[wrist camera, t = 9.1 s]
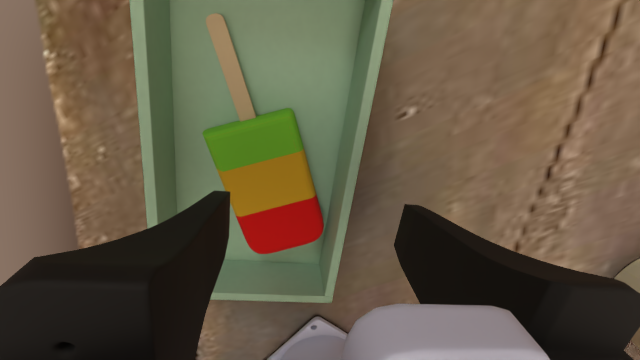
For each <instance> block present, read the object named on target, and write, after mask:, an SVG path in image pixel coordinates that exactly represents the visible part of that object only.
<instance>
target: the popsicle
mask: <svg viewBox="0 0 640 360" xmlns="http://www.w3.org/2000/svg"><path fill="white" fill-rule="evenodd" d="M206 25H207V28H208V31H209V33H210V36H211V39H212V42H213V45H214V48H215V51H216V54H217V56H218V59H219V62H220V65H221V68H222V71H223V74H224V76H225V79H226V82H227V85H228V88H229V91H230V94H231V97H232V99H233V102H234V105H235V108H236V111H237V114H238V117H239V119H240V120H239V121H235V122H231V123H228V124H224V125H220V126H216V127H212V128H208V129H206V130H204V131H203V133H202V134H203V137H204V139H205V142H206V144H207V147H208V149H209V152H210V154H211V156H212V159H213V161H214V164H215V166H216V169H217V171H218V174H219V176H220V179H221V181H222V183H223V186H224V188H225V191H229V192H230V203H231V206H232V208H233V210H234V213H235V215H236V218H237V220H238V223H239V225H240V228H241V230H242V232H243V235H244V237H245V240H246V242H247V244H248V245H249V247H250V248H251V249H252V250H253V251H254V252H256V253H258V254H270V253H275V252H279V251H282V250H286V249H290V248H294V247H298V246H301V245H305V244H308V243H311V242H314V241H315V240H317V239H318V238H319V237H320V236H321V234H322V233H323V229H324V223H323V217H322V213H321V209H320V205H319V202H318V198H317V194H316V190H315V187H314V183H313V179H312V176H311V172H310V168H309V165H308V161H307V157H306V154H305V150H304V146H303V143H302V139H301V135H300V132H299V128H298V124H297V121H296V117H295V113H294V111H293V110H292V109H291V108H285V109H281V110H277V111H273V112H270V113H266V114H262V115H258V116H256V114H255V111H254V108H253V105H252V102H251V98H250V95H249V92H248V89H247V86H246V83H245V80H244V77H243V74H242V71H241V68H240V65H239V62H238V58H237V55H236V52H235V49H234V46H233V43H232V40H231V37H230V34H229V31H228V28H227V25H226V21H225V19H224V17H223V16H222V15H220V14H217V13H215V14H211V15H209V16H208V17H207V18H206Z"/></svg>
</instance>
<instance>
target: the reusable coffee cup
mask: <svg viewBox="0 0 640 360" xmlns="http://www.w3.org/2000/svg"><path fill="white" fill-rule="evenodd" d="M614 279H616V280H619V281H622V282H624V283H626V284H627V285H629V286H630V287H631V288H633V289H634V290H636V291H637V292H639V293H640V258H639V259H638V260H636V261H634V262H632V263H631V264H630V265H628V266H627V267H625V268H624V269H623V270H622V271H621V272H620V273H619V274H618V275H616V277H615V278H614ZM631 341H632V342H633V343H634V344H635V345H636V346H637V347H638V348H639V349H640V328H639V329H638V330H637V332H636V333H635V335H634V336H633V337H632V339H631Z"/></svg>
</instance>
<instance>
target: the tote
mask: <svg viewBox="0 0 640 360" xmlns="http://www.w3.org/2000/svg"><path fill="white" fill-rule="evenodd" d="M392 5H393V0H130V13H131V25H132V38H133V51H134V64H135V76H136V89H137V102H138V115H139V127H140V140H141V153H142V166H143V178H144V191H145V204H146V216H147V229H148V228H150V227H153V226H155V225H157V224H159V223H162V222H164V221H166V220H168V219H169V218H171V217H173V216H175V215H176V214H178V213H180V212H182V211H183V210H185V209H187V208H188V207H190V206H192V205H193V204H195V203H196V202H198V201H199V200H201V199H202V198H204V197H205V196H206V195H208V194H209V193H211V192H212V191H214V190H215V191H225V188H224V186H223V183H222V181H221V179H220V176H219V174H218V171H217V169H216V166H215V164H214V161H213V159H212V156H211V154H210V152H209V149H208V147H207V144H206V142H205V139H204V137H203V134H202V133H203V131H204V130H206V129H208V128H212V127H216V126H220V125H224V124H228V123H231V122H235V121H239V120H240V119H239V117H238V114H237V111H236V108H235V105H234V102H233V99H232V97H231V94H230V91H229V88H228V85H227V82H226V79H225V76H224V74H223V71H222V68H221V65H220V62H219V59H218V56H217V54H216V51H215V48H214V45H213V42H212V39H211V36H210V33H209V31H208V28H207V25H206V18H207V17H208V16H209V15H211V14H215V13H217V14H220V15H222V16H223V17H224V19H225V21H226V25H227V28H228V31H229V34H230V37H231V40H232V43H233V46H234V49H235V52H236V55H237V58H238V62H239V65H240V68H241V71H242V74H243V77H244V80H245V83H246V86H247V89H248V92H249V95H250V98H251V102H252V105H253V108H254V111H255V114H256V116H258V115H262V114H266V113H270V112H273V111H277V110H281V109H285V108H291V109H292V110H293V111H294V113H295V117H296V121H297V124H298V128H299V132H300V135H301V139H302V143H303V146H304V150H305V154H306V157H307V161H308V165H309V168H310V172H311V176H312V179H313V183H314V187H315V190H316V194H317V198H318V202H319V205H320V209H321V213H322V217H323V223H324V229H323V233H322V234H321V236H320V237H319V238H318V239H317V240H315V241H314V242H311V243H308V244H305V245H301V246H298V247H294V248H290V249H286V250H282V251H279V252H275V253H270V254H258V253H256V252H254V251H253V250H252V249H251V248H250V247H249V245H248V244H247V242H246V240H245V237H244V235H243V232H242V230H241V228H240V225H239V223H238V220H237V218H236V215H235V213H234V210H233V208H232V206H231V203H230V226H229V240H228V245H227V250H226V255H225V258H224V261H223V264H222V267H221V270H220V273H219V276H218V278H217V281H216V284H215V287H214V290H213V292H212V295H211V298H210V300H242V301H278V302H314V303H332V298H333V293H334V288H335V283H336V278H337V273H338V269H339V264H340V259H341V254H342V249H343V244H344V239H345V234H346V229H347V225H348V220H349V215H350V210H351V205H352V200H353V195H354V190H355V185H356V181H357V176H358V171H359V166H360V161H361V156H362V151H363V146H364V142H365V137H366V132H367V127H368V122H369V117H370V112H371V107H372V102H373V98H374V93H375V88H376V83H377V78H378V73H379V68H380V63H381V59H382V54H383V49H384V44H385V39H386V34H387V29H388V24H389V19H390V15H391V10H392Z"/></svg>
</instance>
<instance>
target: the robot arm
mask: <svg viewBox="0 0 640 360" xmlns="http://www.w3.org/2000/svg"><path fill="white" fill-rule="evenodd" d="M229 226H230V192H229V191H215V190H214V191H212V192H211V193H209V194H208V195H206V196H205V197H204V198H202V199H201V200H199V201H198V202H196V203H195V204H193V205H192V206H190V207H188V208H187V209H185V210H183V211H182V212H180V213H178V214H176V215H175V216H173V217H171V218H169V219H168V220H166V221H164V222H162V223H159V224H157V225H155V226H153V227H150V228H148V229H146V230H143V231H141V232H138V233H135V234H132V235H129V236H126V237H123V238H121V239H118V240H114V241H111V242H107V243H104V244H100V245H96V246H92V247H88V248H83V249H79V250H74V251H69V252H63V253H57V254H52V255H46V256H41V257H34V258H33V259H32V260H30V261H29V262H28V263H27V264H26V265H25V266H23V267H22V268H21V269H20V270H19V271H17V272H16V273H15V274H14V275H13V276H12V277H10V278H9V279H8V280H7V281H6V282H5V283H3V284H2V285H1V286H0V360H195V356H196V351H197V347H198V342H199V338H200V334H201V330H202V325H203V321H204V317H205V313H206V310H207V307H208V304H209V301H210V298H211V295H212V292H213V290H214V287H215V284H216V281H217V278H218V276H219V273H220V270H221V267H222V264H223V261H224V258H225V255H226V250H227V245H228V240H229ZM394 247H395V250H396V253H397V256H398V259H399V262H400V265H401V267H402V269H403V271H404V273H405V275H406V277H407V279H408V281H409V283H410V285H411V287H412V289H413V291H414V293H415V294H416V296H417V298H418V300H419V302H420V304H393V305H387V306H382V307H376V308H374V309H373V310H371V311H370V312H368V313H367V314H365V315H363V316H362V317H360V318H359V319H357V320H356V322H355V323H354V325H353V327H352V328H351V330H350V332H349V333H348V334H347V333H346V332H344V331H342V330H341V329H339V328H337V327H336V326H334V325H333V324H331V323H329V322H328V321H326V320H324V319H323V318H321V317H314V318H313V319H312V320H311V321H309V322H308V323H307V324H306V325H305V326H304V327H303V328H302V329H300V330H299V331H298V332H297V333H296V334H295V335H294V336H293V337H291V338H290V339H289V340H288V341H287V342H286V343H285V344H284V345H282V346H281V347H280V348H279V349H278V350H277V351H276V352H275V353H273V354H272V355H271V356H270V357H269V358H268V359H267V360H633V359H632V358H631V357H630V356H629V355H628V354H627V353H626V352H625V351H623V350H624V349H625V347H626V346H627V344H628V343H629V342H630V340H631V339H632V337H633V336H634V335H635V333H636V332H637V330H638V329H639V328H640V293H639V292H637V291H636V290H634V289H633V288H631V287H630V286H629V285H627V284H626V283H624V282H622V281H619V280H616V279H611V278H607V277H602V276H598V275H593V274H588V273H584V272H579V271H575V270H571V269H568V268H564V267H560V266H557V265H553V264H550V263H546V262H543V261H540V260H537V259H534V258H531V257H528V256H525V255H522V254H519V253H517V252H514V251H511V250H509V249H506V248H504V247H502V246H499V245H497V244H494V243H492V242H490V241H488V240H485V239H483V238H481V237H479V236H477V235H475V234H473V233H471V232H469V231H467V230H465V229H464V228H462V227H460V226H458V225H456V224H454V223H452V222H451V221H449V220H447V219H445V218H443V217H442V216H440V215H438V214H436V213H434V212H432V211H430V210H428V209H426V208H424V207H422V206H419V205H407V204H405V206H404V209H403V213H402V217H401V220H400V224H399V228H398V232H397V235H396V239H395V243H394ZM313 325H315V326H313Z"/></svg>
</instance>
